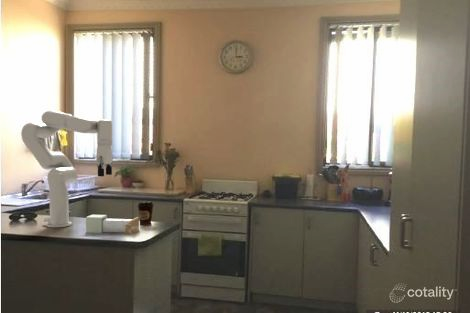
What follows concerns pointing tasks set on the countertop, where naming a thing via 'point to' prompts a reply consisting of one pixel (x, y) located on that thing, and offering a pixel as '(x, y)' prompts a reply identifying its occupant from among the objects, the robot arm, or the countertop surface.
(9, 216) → the countertop surface
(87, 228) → the pale green cube
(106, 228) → the white rectangular block
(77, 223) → the countertop surface
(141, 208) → the coffee cup
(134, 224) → the beige block
